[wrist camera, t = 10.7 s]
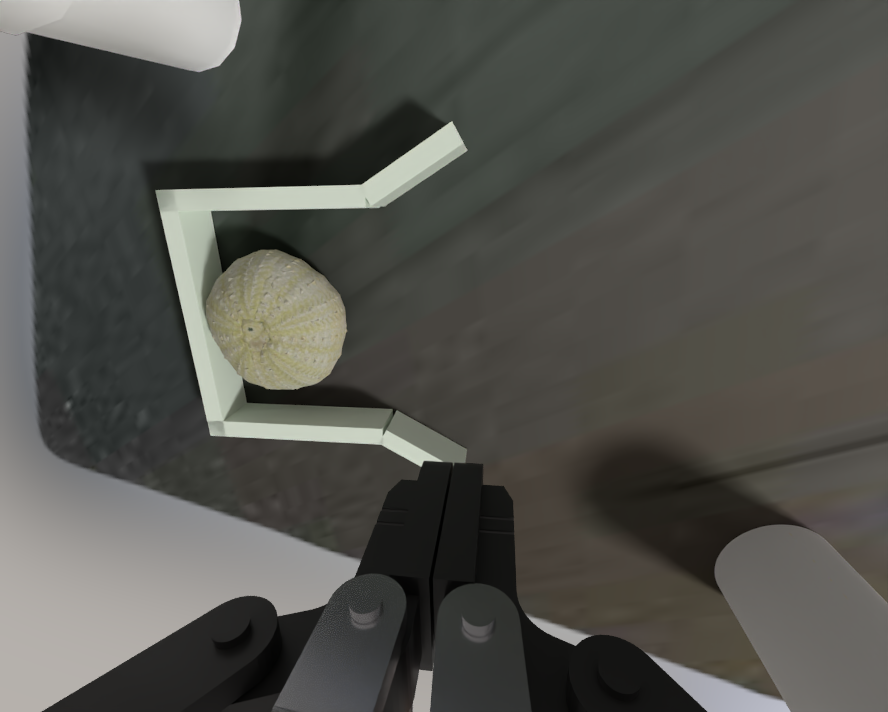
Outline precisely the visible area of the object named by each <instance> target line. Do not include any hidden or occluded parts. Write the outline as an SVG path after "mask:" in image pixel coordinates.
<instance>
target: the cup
mask: <svg viewBox="0 0 888 712" xmlns="http://www.w3.org/2000/svg"><path fill="white" fill-rule="evenodd" d="M715 579H716V582H717V584H718V586H719V588H720V590H721V592H722V593H723V595H724V597H725V599H726V600H727V602H728V604H729V605H730V607H731V609H732V611H733V612H734V614H735V616H736V618H737V619H738V621H739V623H740V625H741V626H742V628H743V630H744V631H745V633H746V635H747V637H748V638H749V640H750V642H751V644H752V645H753V647H754V649H755V650H756V652H757V654H758V656H759V657H760V659H761V661H762V663H763V664H764V666H765V668H766V669H767V671H768V673H769V675H770V676H771V678H772V680H773V682H774V683H775V685H776V687H777V689H778V690H779V692H780V694H781V695H782V697H783V699H784V701H785V702H786V704H787V706H788V708H789V709H790V711H791V712H888V603H887V602H886V601H885V600H884V599H883V598H882V597H881V596H880V595H879V594H878V593H877V592H876V591H875V590H874V589H873V588H872V587H871V586H870V585H869V584H868V583H867V582H866V581H865V580H864V579H863V578H862V577H861V576H860V575H859V574H858V573H857V572H856V570H855V569H854V568H853V567H852V566H851V565H850V564H849V563H848V562H847V561H846V560H845V559H844V558H843V557H842V556H841V555H840V554H839V553H838V552H837V551H836V550H835V549H834V548H833V547H832V546H831V545H830V544H829V543H828V542H827V541H826V540H825V539H824V538H823V537H821V536H820V535H819V534H817V533H815V532H813V531H811V530H809V529H806V528H803V527H799V526H794V525H769V526H763V527H759V528H756V529H752V530H750V531H747V532H745V533H743V534H741V535H739V536H738V537H736V538H735V539H733V540H732V541H731V542H730V543H729V544H727V545H726V546H725V548H724V549H723V550H722V551H721V553H720V554H719V556H718V558H717V561H716V564H715Z"/></svg>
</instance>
